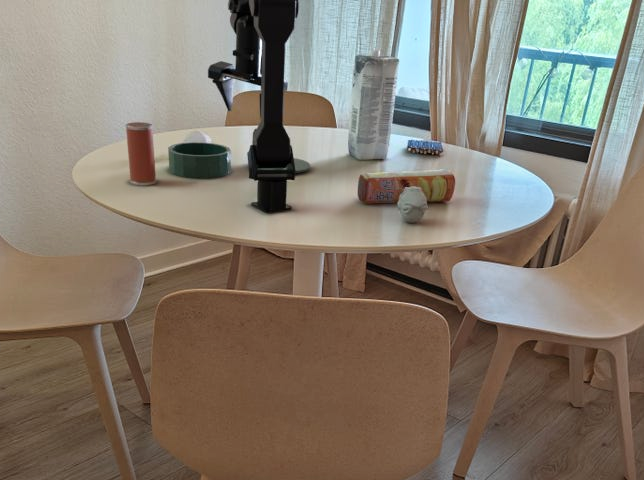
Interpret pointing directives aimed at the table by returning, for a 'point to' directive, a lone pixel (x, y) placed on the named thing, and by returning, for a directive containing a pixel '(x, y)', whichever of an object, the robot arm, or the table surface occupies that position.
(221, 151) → the pot
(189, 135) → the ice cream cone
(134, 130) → the tin can
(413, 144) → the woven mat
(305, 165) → the pot lid
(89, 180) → the table surface
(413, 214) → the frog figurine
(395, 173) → the snack package
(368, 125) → the juice carton
